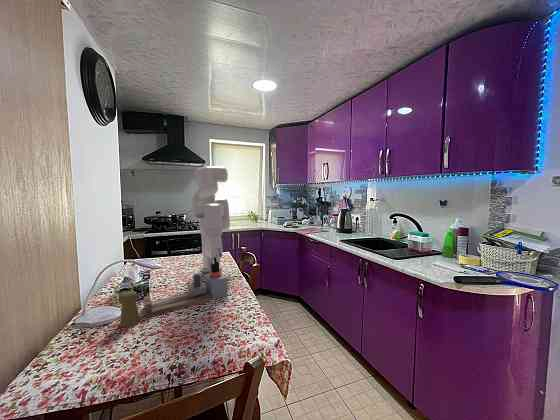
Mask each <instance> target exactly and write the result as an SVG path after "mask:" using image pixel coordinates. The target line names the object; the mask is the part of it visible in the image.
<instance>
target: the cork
mask: <svg viewBox="0 0 560 420" xmlns="http://www.w3.org/2000/svg"><path fill="white" fill-rule="evenodd" d="M137 297H138V294H137V292H136V291H134V290H129V291H125V292H122V294H121V293H120V295H119V302H120V303H121V312H120V322H119V323H120V325H119V326H120V327H121V328H129V327H133V326H135V325H137V324H138V323H140V321H141V318H140V313H139V308H138V306H137Z"/></svg>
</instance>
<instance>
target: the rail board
mask: <svg viewBox="0 0 560 420" xmlns="http://www.w3.org/2000/svg"><path fill="white" fill-rule="evenodd" d="M211 300H212V298H211V296H210V295H209V293H208V292H206V293H204V294H201V295H197V296H194V297H192V295H191V294H190V293H189V291H188V292H183V293H180V294H176V295H173V296H168V297H164V298H160V299H157V300H151V297H150V295H146V296H144V297H143V306H144V307H143V308H144V312H145V316H146V318H151V317H154V316H157V315H161V314H164V313H168V312H172V311H175V310H180V309H183V308H186V307H189V306H194V305H197V304H200V303H205V302H207V301H211Z"/></svg>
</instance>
